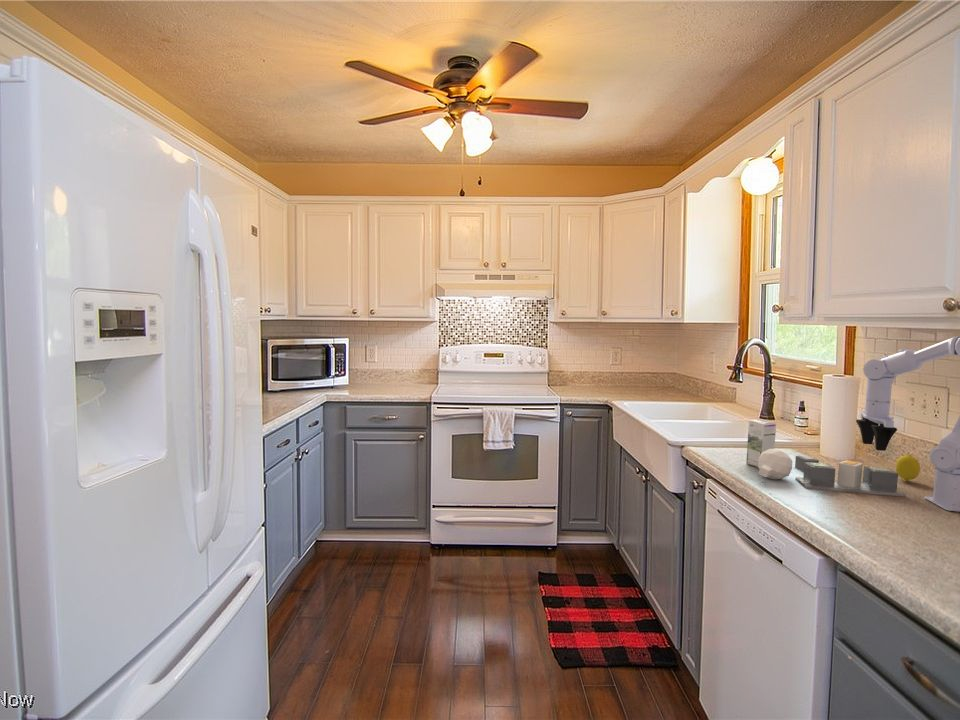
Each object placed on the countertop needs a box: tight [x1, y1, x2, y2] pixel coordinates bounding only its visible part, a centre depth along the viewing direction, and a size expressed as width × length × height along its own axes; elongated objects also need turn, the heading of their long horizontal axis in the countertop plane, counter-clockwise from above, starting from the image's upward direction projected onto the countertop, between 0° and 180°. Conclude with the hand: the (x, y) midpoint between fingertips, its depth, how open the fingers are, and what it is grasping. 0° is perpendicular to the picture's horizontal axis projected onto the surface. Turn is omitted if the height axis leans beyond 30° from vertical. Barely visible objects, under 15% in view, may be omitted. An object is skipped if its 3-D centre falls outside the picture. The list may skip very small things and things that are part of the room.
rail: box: [794, 462, 907, 498], centre depth 146 cm, size 8×24×6 cm, turn 77°
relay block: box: [794, 455, 820, 473], centre depth 163 cm, size 5×4×4 cm
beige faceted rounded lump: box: [757, 448, 793, 480], centre depth 152 cm, size 9×9×12 cm
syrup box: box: [746, 418, 777, 468], centre depth 166 cm, size 6×6×14 cm
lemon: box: [895, 454, 921, 482], centre depth 153 cm, size 6×6×8 cm
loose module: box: [837, 459, 863, 488], centre depth 147 cm, size 4×5×6 cm
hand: (873, 447), depth 153 cm, fingers open, 7 cm apart
